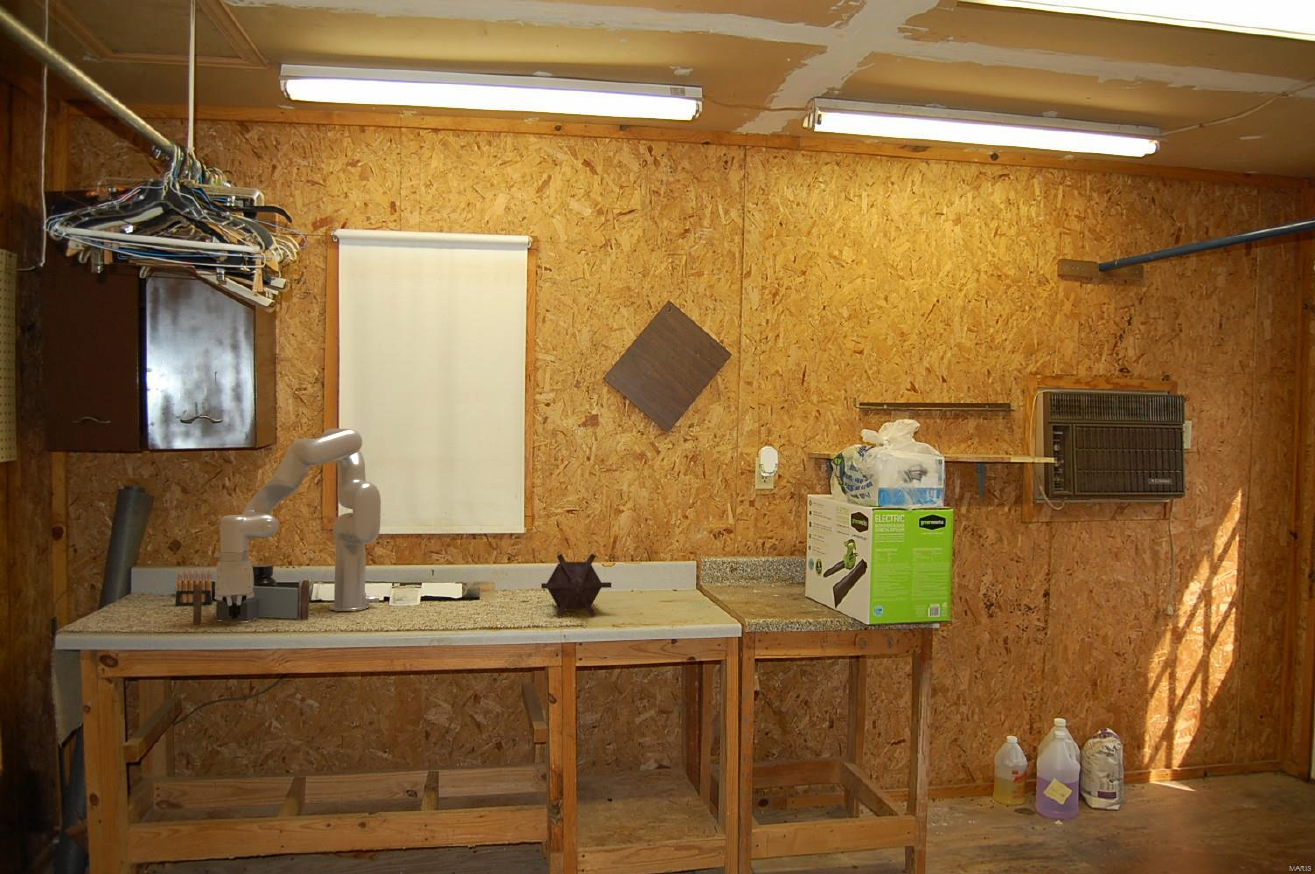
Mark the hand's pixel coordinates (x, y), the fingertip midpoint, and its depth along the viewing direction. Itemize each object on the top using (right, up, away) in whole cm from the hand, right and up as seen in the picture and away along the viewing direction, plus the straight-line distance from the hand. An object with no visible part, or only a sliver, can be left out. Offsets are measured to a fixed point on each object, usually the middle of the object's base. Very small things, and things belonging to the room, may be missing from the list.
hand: (234, 617), depth 250 cm
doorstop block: (-3, -2, +8) cm, 9 cm away
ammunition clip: (-27, -2, +27) cm, 38 cm away
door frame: (+3, -2, +5) cm, 6 cm away
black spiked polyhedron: (+98, -5, +29) cm, 103 cm away
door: (+2, -2, +11) cm, 12 cm away
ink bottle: (-10, -2, +38) cm, 39 cm away
